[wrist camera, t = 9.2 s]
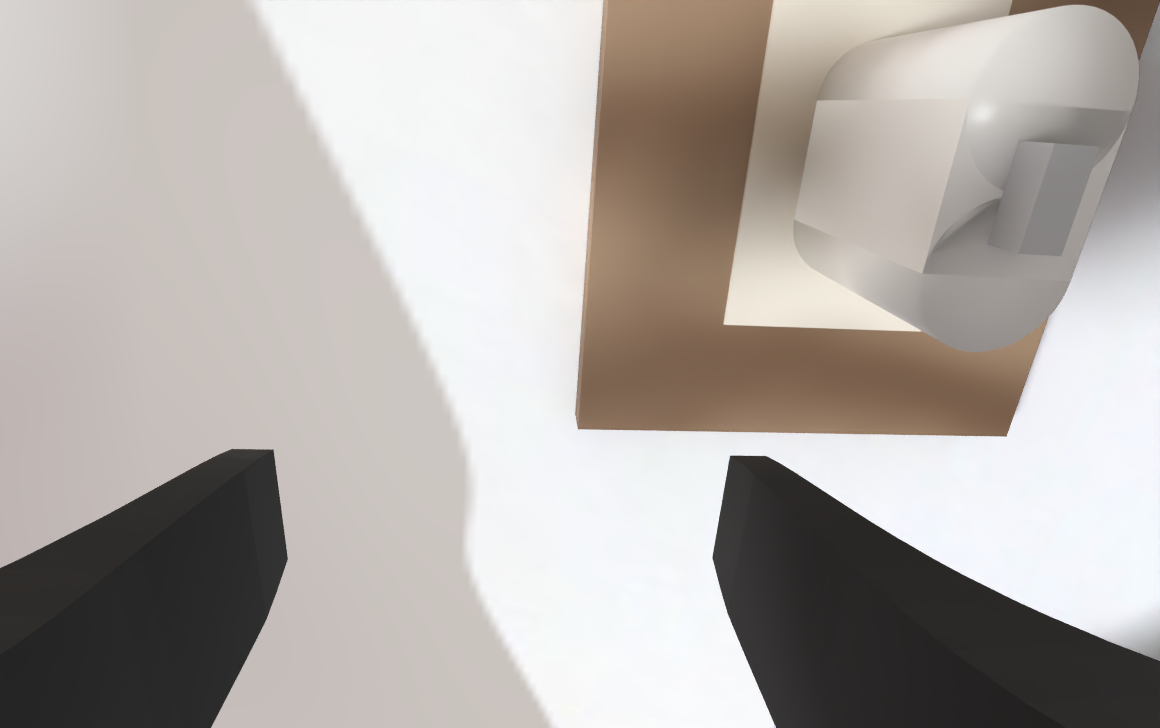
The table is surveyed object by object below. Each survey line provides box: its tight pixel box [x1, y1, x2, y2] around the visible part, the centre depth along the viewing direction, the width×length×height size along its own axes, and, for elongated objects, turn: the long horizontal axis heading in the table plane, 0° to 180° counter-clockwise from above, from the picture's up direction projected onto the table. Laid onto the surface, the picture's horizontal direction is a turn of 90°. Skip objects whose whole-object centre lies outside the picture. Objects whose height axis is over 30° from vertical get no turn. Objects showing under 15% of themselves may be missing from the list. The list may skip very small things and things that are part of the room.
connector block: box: [793, 5, 1139, 352], centre depth 14 cm, size 6×3×7 cm, turn 176°
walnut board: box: [576, 0, 1160, 436], centre depth 17 cm, size 16×14×1 cm
